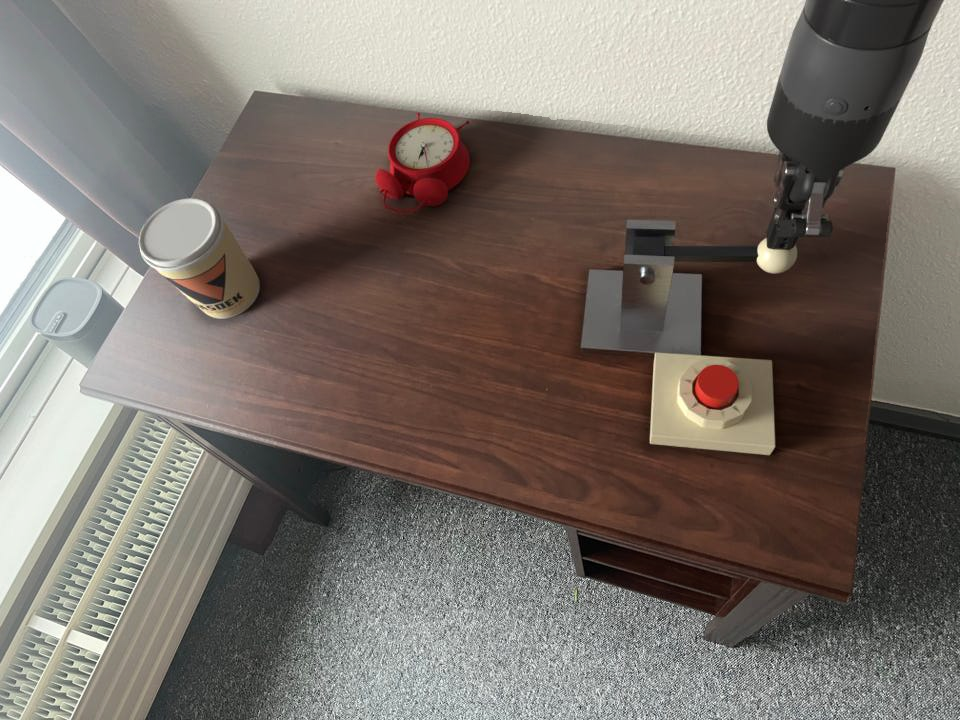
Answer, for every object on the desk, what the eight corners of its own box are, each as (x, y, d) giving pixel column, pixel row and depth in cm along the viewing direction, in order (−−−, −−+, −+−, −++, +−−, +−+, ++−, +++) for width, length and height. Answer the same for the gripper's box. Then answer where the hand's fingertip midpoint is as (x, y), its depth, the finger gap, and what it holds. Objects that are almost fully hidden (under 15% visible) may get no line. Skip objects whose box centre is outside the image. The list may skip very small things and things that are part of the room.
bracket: (700, 280, 74) (719, 200, 62) (699, 361, 69) (719, 291, 58) (589, 275, 76) (588, 197, 65) (580, 352, 71) (578, 284, 60)
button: (734, 375, 64) (738, 365, 62) (735, 410, 62) (739, 401, 61) (695, 372, 65) (697, 362, 63) (694, 406, 63) (697, 397, 61)
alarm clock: (480, 116, 85) (431, 183, 76) (483, 159, 90) (437, 227, 81) (406, 105, 88) (351, 169, 80) (413, 147, 93) (362, 212, 84)
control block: (767, 370, 67) (776, 351, 64) (770, 455, 63) (780, 439, 60) (653, 362, 70) (656, 343, 66) (649, 444, 66) (652, 428, 62)
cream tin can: (191, 332, 80) (131, 273, 70) (195, 269, 85) (140, 205, 75) (266, 316, 80) (217, 254, 70) (267, 254, 85) (221, 187, 74)
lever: (792, 250, 62) (799, 226, 59) (794, 281, 60) (801, 258, 57) (634, 250, 66) (634, 227, 63) (632, 279, 64) (631, 257, 61)
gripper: (921, 151, 40) (831, 309, 55) (895, 7, 46) (820, 185, 61) (785, 150, 41) (734, 304, 56) (777, 10, 47) (732, 183, 62)
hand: (778, 242), depth 59 cm, fingers closed
